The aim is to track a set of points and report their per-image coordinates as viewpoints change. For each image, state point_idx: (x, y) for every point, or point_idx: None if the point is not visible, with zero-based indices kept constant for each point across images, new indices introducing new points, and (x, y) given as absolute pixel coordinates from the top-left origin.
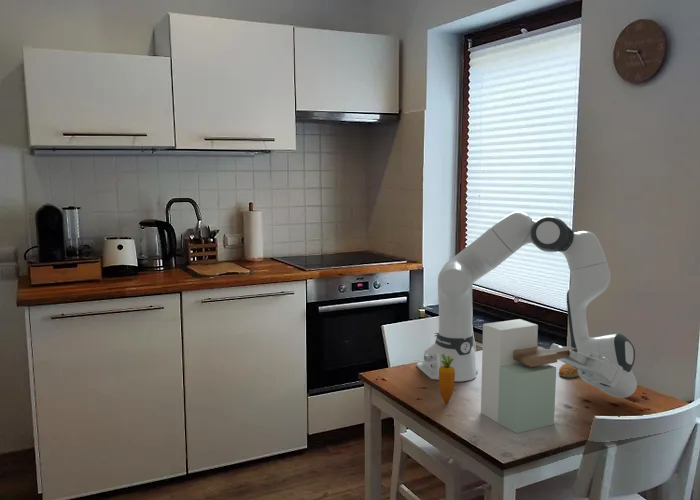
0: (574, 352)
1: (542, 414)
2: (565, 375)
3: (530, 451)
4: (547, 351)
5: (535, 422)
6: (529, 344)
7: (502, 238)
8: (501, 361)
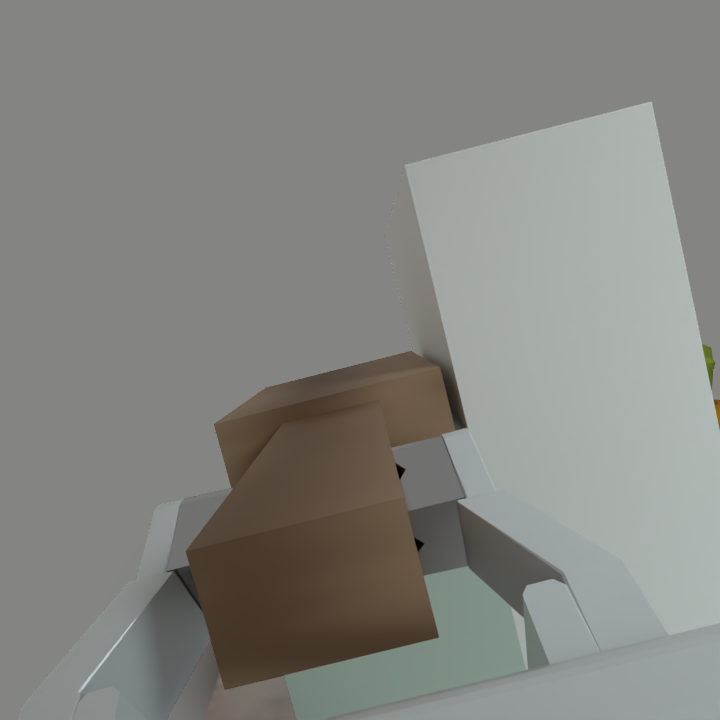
0: (155, 532)
1: None
2: None
3: (223, 705)
4: (297, 398)
5: None
6: (433, 333)
7: None
8: None
